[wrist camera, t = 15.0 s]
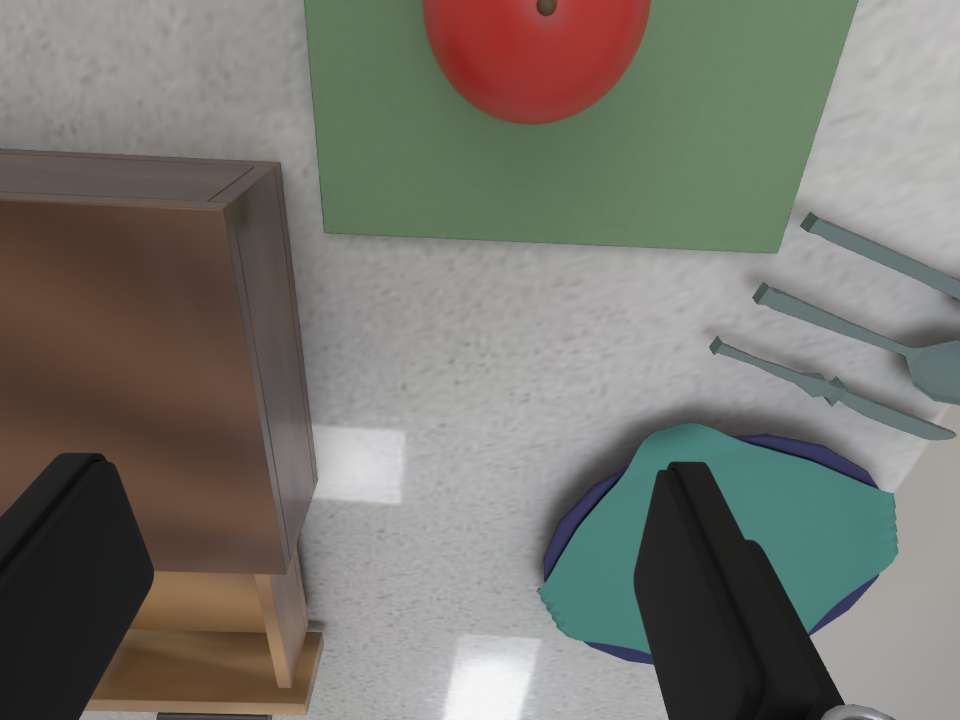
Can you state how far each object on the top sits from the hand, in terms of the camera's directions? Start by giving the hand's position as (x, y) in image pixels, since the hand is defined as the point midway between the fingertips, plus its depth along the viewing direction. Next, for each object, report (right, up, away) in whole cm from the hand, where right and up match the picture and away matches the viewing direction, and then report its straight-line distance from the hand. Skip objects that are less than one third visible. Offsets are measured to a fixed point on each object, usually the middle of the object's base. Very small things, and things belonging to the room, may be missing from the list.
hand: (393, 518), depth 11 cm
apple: (+3, +14, +8) cm, 16 cm away
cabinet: (-14, +4, +19) cm, 24 cm away
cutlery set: (+17, -4, +24) cm, 30 cm away
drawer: (-15, -11, +26) cm, 32 cm away
